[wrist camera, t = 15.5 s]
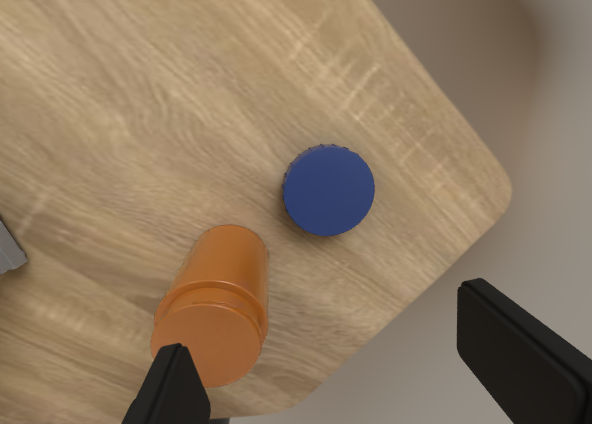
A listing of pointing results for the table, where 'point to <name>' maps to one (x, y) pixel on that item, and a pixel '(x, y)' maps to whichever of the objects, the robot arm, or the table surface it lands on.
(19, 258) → the tall grey upright box
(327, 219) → the jar lid
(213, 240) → the jam jar
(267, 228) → the table surface
